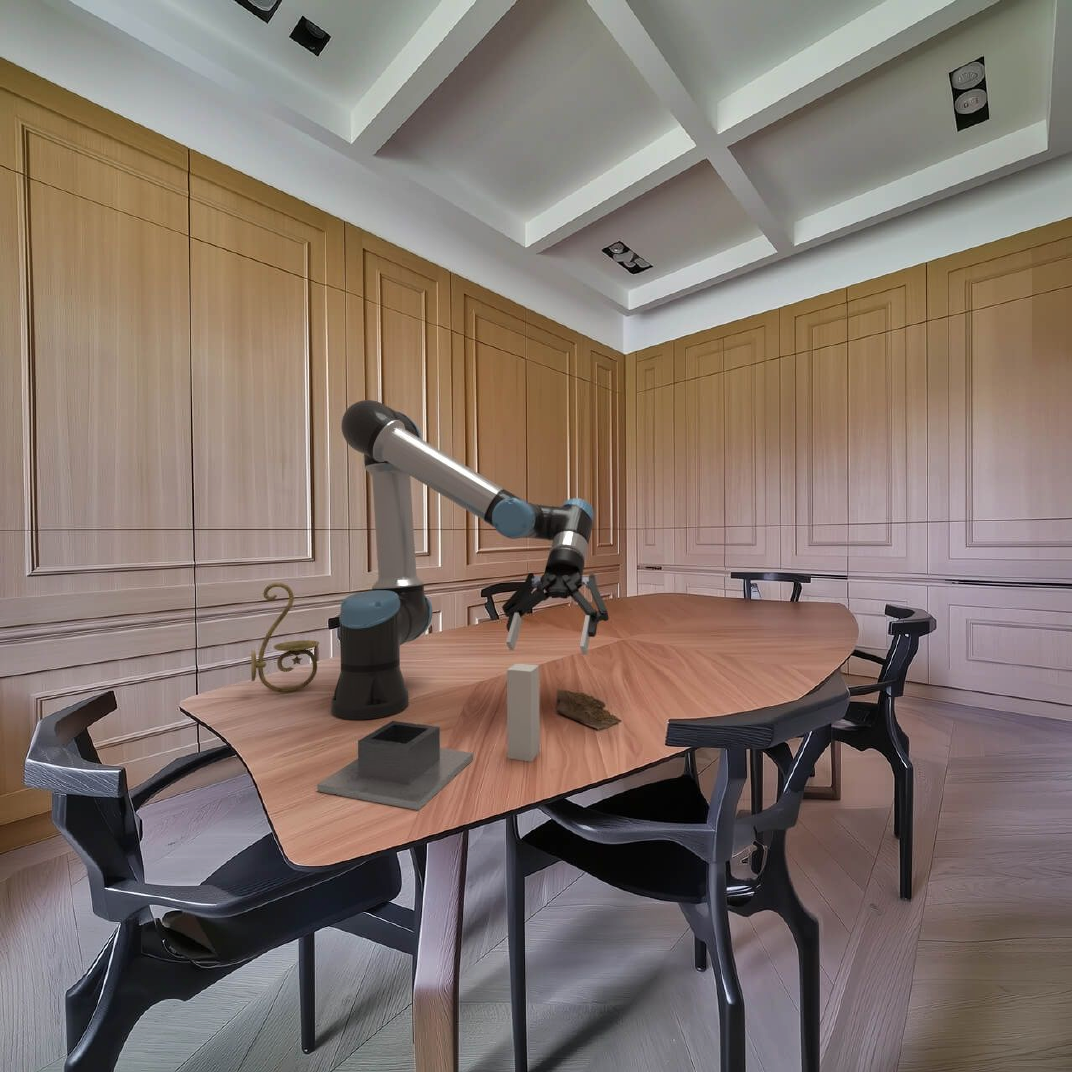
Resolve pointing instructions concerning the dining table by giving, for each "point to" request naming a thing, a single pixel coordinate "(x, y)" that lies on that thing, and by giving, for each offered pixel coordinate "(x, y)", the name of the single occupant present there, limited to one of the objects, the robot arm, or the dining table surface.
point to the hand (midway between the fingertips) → (545, 648)
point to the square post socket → (398, 767)
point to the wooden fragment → (585, 710)
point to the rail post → (523, 712)
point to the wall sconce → (283, 648)
